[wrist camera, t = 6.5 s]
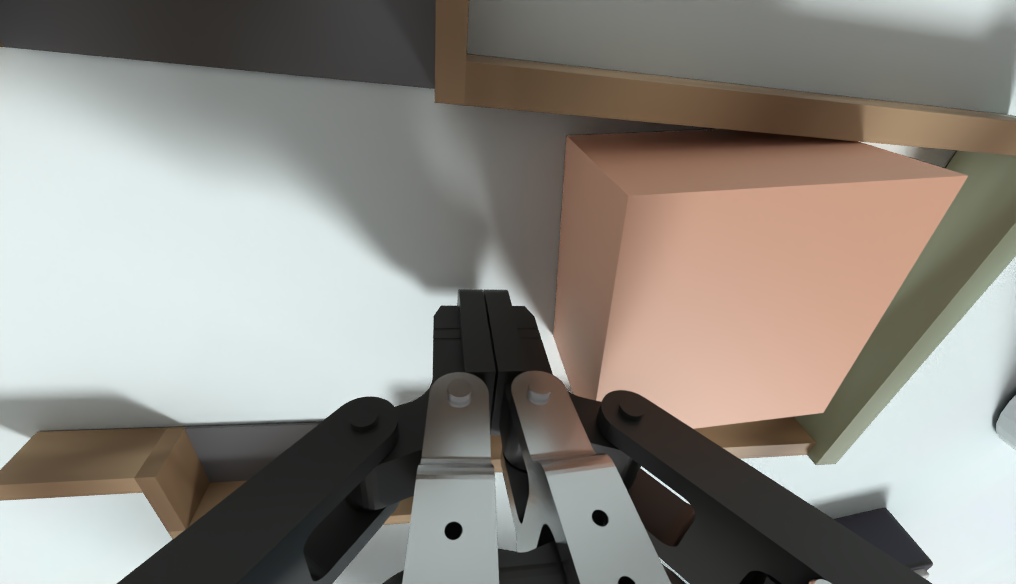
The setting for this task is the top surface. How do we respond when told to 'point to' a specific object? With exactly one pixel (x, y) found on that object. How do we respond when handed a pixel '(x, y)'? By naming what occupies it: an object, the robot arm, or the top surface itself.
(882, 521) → the calculator
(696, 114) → the wooden u-shaped frame
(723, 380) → the block
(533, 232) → the top surface
